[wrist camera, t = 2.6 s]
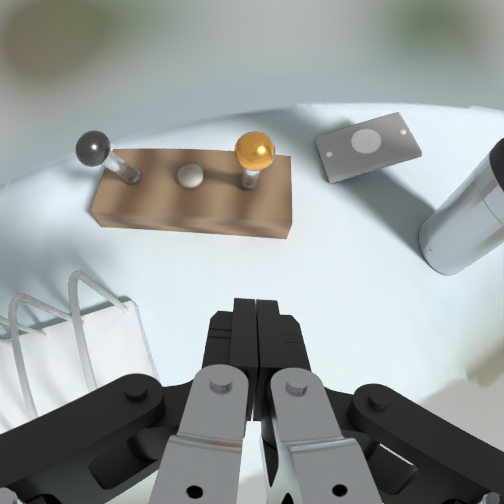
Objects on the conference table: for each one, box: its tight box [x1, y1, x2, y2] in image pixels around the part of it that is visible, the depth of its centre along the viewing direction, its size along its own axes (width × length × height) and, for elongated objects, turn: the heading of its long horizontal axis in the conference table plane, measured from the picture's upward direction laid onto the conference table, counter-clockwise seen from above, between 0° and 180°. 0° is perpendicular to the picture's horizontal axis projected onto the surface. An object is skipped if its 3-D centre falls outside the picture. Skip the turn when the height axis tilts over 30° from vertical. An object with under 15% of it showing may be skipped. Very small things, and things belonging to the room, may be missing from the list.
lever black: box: [76, 131, 142, 185], centre depth 28 cm, size 3×3×14 cm
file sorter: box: [0, 270, 160, 434], centre depth 20 cm, size 25×17×16 cm
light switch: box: [315, 112, 422, 184], centre depth 42 cm, size 8×6×14 cm
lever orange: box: [235, 131, 275, 190], centre depth 29 cm, size 3×3×14 cm
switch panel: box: [90, 149, 292, 239], centre depth 37 cm, size 24×10×5 cm, turn 87°
